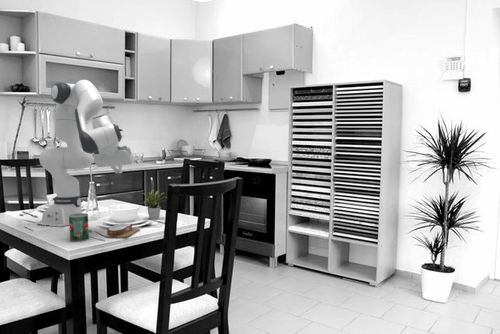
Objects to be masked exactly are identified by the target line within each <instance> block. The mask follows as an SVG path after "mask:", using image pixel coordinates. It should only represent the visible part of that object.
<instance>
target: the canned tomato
mask: <svg viewBox="0 0 500 334" xmlns="http://www.w3.org/2000/svg"><path fill="white" fill-rule="evenodd" d="M68 226H69V241H70V242H75V243H78V242H84V241H85V242H86V241H88V240H89V239H90V237H89V236H90V235H89V233H90V231H89V215H88V213H78V214H72V215H69V225H68Z"/></svg>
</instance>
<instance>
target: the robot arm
mask: <svg viewBox="0 0 500 334" xmlns="http://www.w3.org/2000/svg"><path fill="white" fill-rule="evenodd" d="M52 85H53V86H52V87H51V91H50V96H51V99H52V101H53V102H54V103H56V107H55V111H54V112H55V115H54V135H55V137H56V138H57V139H58V140H59V141H61V142H64V143H65V144H66V147H51V148H47V149H44V150H42V151H41V153H40V155H39V163H40V165H41V166H42V167H43V169H45V170H47V171H48V172H49V173H50V175H51V176H52V177H53V180H54V182H55V189H56V191H55V192H56V196H54V197H52V198H51V201H53V203H52V205H50V206H49V207H48V208H46V209H45V210H44V211H43V213H42V218H41V220H39V221H38V222H37V224H42V225H41V226H46V225H49V227H59V228H60V227H67V226H69V215H72V214H78V213H82V207H81V205H82V200H81V199H82V198H81V197H82V196H81V193H80V181H79V180H78V178H76V177H75V176H73V175H70V174H69V173H68V170H82V169H87V168H89V167H90V166H91V165H92V164H93V162H94V163H95V165H96V166H97V167H98V168H104V167H111V169H112V170H113V171H114V172H115V174H123V166H126V165H127V166H128V165H132V164H134V162H135V156H134V155H133V152H132V151H131V148H130V147H129V146H128V145H120V142H121V140H122V138H123V136H122V133H121V130H120V127H119V125H117V124H115V123H112V121H111V119H110V118H109V116H108V114H101V115H98V114H99V113H101V111H102V110H103V107H104V101H103V98H102V96H101V93H100V92H99V90H98V89H97V87H96V86H95V84H93V83H92V82H91V81H90V80H87V79H81V80H78V81H77V82H75V83H66V82H56V83H54V84H52ZM97 115H98V116H97ZM89 120H91V125H92V129H89V130H88V127H87V123H88V122H89Z"/></svg>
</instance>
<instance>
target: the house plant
mask: <svg viewBox="0 0 500 334" xmlns="http://www.w3.org/2000/svg"><path fill="white" fill-rule="evenodd" d="M154 191H155V190H154V188H153V189H152V194H151V192H148V194H149V195H148V194H147V190H146V191H145V192H143V193H142V192H141V194H143V195H144V196H145V197H146V199H145V201H143V202H142V203H143V205H145V204H148V205H149V206H147V207H146V209H147V214H148V218H150V219H149V220H158V219H160V215H161V214H160V213H161V206H159V204H160V203H161V201H162V200H163V199H166V198H168V197H167V196H163V197H161V196H162V194H165V192H162V194H158V193H159V191H160V190H156V191H155V192H154Z"/></svg>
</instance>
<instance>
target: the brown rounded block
mask: <svg viewBox="0 0 500 334" xmlns="http://www.w3.org/2000/svg"><path fill="white" fill-rule="evenodd" d="M132 228H133V225H132V223H124V222H121V223H120V222H119V223H116V224H114V225H112V226H110V227H108V228H107V230H106V236H119V235H124V234H126V233H127V232H129V231H131V230H132Z"/></svg>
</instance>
